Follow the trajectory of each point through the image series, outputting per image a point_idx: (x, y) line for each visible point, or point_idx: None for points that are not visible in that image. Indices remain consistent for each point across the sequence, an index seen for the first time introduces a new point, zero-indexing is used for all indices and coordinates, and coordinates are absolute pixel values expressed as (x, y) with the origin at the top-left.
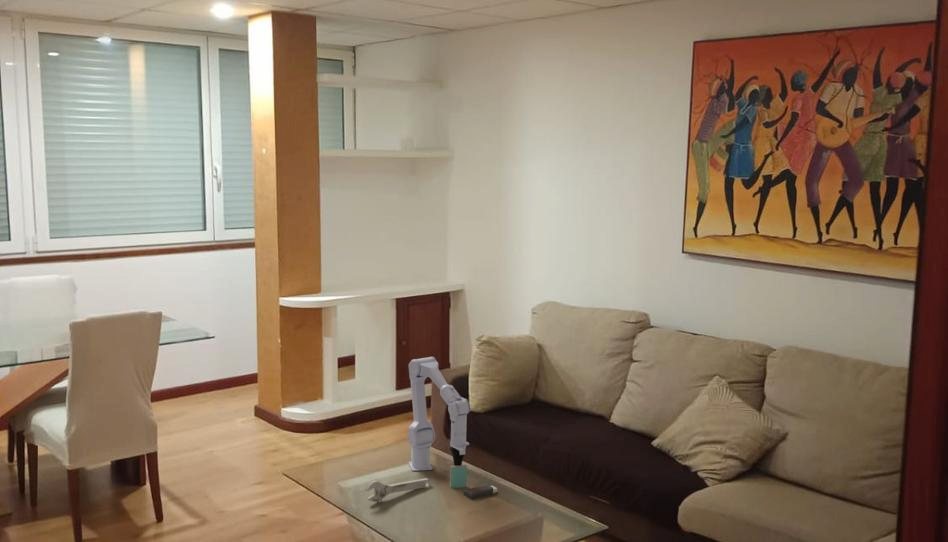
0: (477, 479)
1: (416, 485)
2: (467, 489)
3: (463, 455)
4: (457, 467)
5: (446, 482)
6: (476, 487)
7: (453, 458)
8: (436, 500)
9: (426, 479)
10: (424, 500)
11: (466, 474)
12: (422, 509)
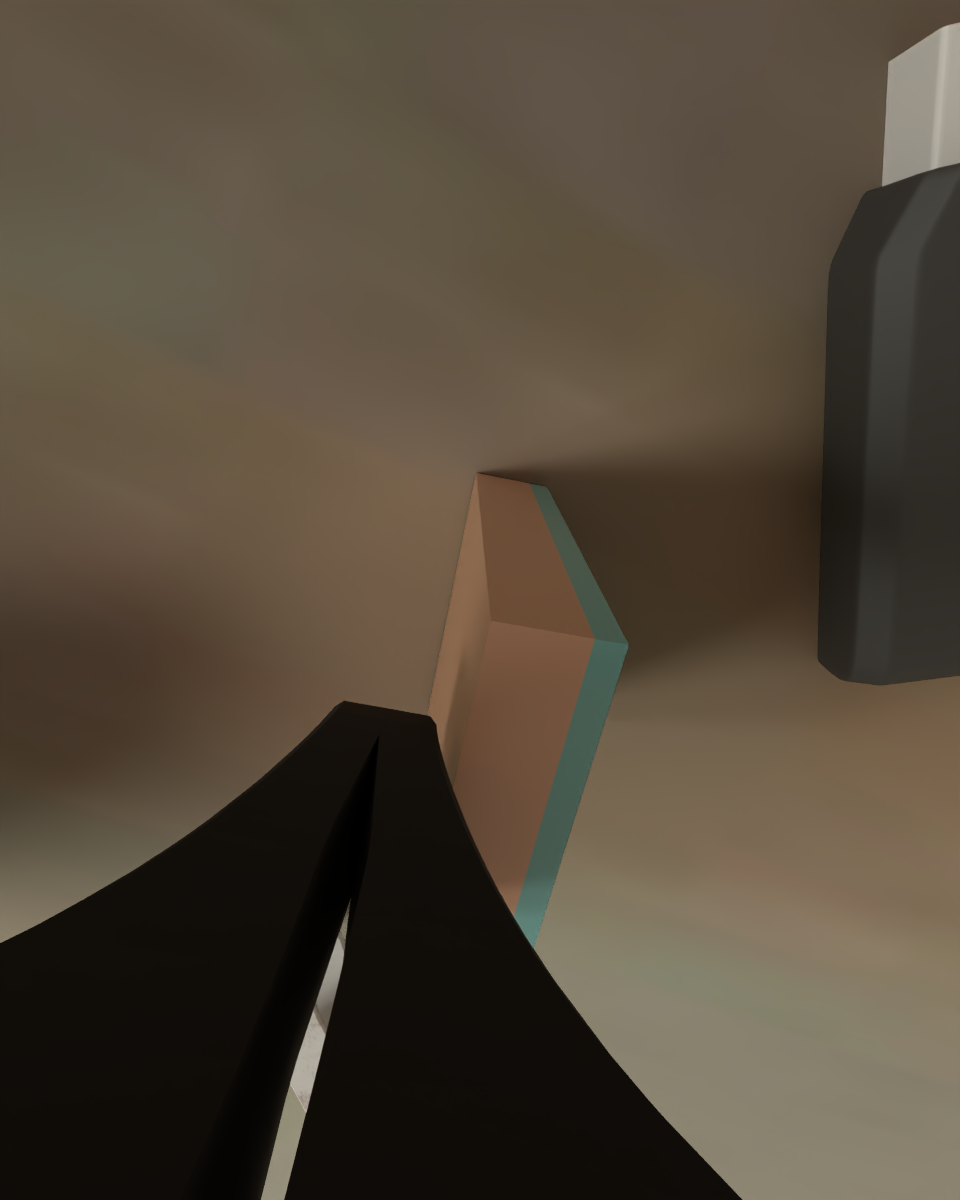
0: (280, 100)
1: None
2: (892, 649)
3: (584, 1070)
4: (551, 879)
5: (272, 690)
6: (913, 463)
7: (286, 1086)
8: (779, 987)
9: (322, 1040)
10: (711, 1075)
11: (583, 565)
12: (901, 1146)
